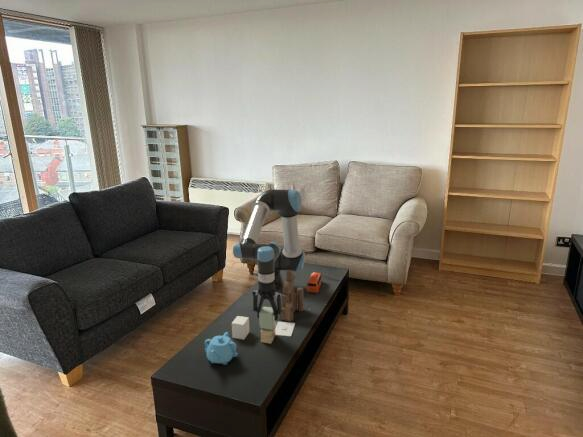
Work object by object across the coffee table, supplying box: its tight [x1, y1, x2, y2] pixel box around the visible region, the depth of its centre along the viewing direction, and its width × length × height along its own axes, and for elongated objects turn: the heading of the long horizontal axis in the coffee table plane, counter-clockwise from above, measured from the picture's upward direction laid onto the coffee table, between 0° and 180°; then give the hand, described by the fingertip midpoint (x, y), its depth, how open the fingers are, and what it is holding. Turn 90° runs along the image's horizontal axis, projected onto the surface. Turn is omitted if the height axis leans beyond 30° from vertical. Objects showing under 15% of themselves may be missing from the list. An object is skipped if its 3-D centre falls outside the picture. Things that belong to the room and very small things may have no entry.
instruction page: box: [275, 321, 296, 337], centre depth 201 cm, size 12×9×1 cm
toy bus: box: [306, 271, 323, 294], centre depth 245 cm, size 7×18×7 cm, turn 167°
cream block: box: [231, 315, 250, 340], centre depth 196 cm, size 7×6×8 cm
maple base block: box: [260, 327, 277, 344], centre depth 192 cm, size 7×5×6 cm
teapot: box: [204, 331, 239, 366], centre depth 176 cm, size 13×14×11 cm
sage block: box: [259, 306, 274, 329], centre depth 190 cm, size 6×6×8 cm
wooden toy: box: [278, 270, 304, 323], centre depth 212 cm, size 16×7×25 cm, turn 150°
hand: (267, 325), depth 191 cm, fingers closed on sage block, 6 cm apart
